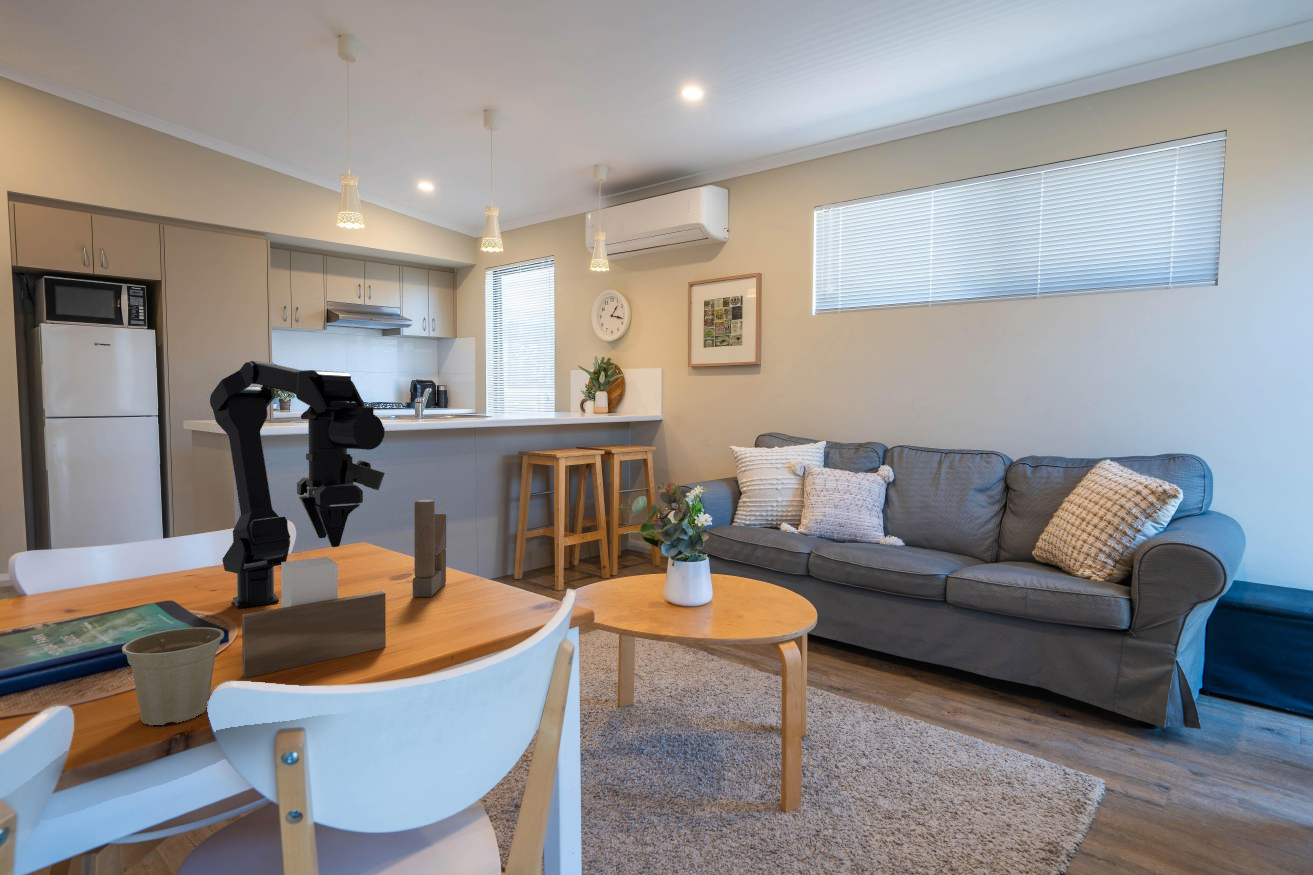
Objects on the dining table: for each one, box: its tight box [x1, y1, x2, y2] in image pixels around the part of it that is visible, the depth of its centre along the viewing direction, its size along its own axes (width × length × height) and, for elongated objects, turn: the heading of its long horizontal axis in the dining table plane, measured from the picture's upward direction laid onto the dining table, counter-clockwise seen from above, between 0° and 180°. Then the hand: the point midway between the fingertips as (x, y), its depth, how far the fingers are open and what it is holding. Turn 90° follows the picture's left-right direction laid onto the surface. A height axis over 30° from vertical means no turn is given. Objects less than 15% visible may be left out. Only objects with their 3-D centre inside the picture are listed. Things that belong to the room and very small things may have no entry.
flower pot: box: [121, 626, 225, 726], centre depth 77 cm, size 9×9×9 cm
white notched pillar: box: [280, 556, 339, 608], centre depth 97 cm, size 6×6×13 cm
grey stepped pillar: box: [412, 499, 447, 598], centre depth 131 cm, size 4×11×18 cm, turn 3°
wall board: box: [241, 590, 387, 679], centre depth 94 cm, size 3×18×8 cm, turn 132°
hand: (328, 542), depth 111 cm, fingers open, 9 cm apart
